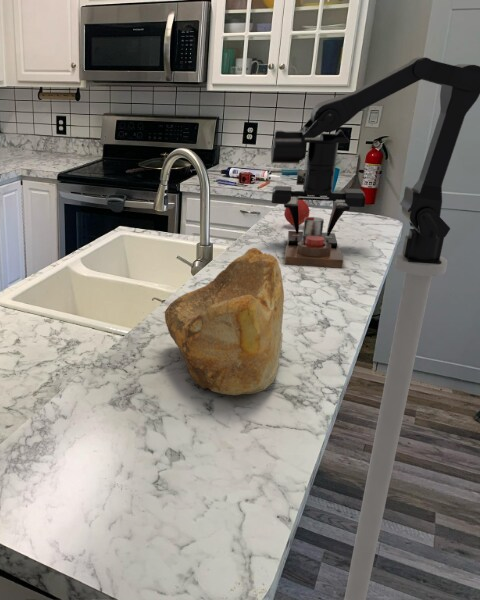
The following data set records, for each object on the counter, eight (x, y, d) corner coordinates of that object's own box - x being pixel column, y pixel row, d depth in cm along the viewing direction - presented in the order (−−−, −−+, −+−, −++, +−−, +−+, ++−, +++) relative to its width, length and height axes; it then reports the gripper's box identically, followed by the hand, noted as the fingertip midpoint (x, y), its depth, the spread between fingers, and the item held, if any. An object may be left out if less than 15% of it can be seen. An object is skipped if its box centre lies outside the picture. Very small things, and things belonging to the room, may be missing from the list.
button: (322, 244, 129) (323, 236, 128) (323, 249, 126) (324, 240, 125) (304, 242, 130) (305, 235, 129) (305, 247, 127) (306, 239, 126)
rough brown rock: (189, 325, 102) (184, 240, 96) (294, 334, 94) (295, 242, 89) (139, 397, 83) (129, 295, 77) (265, 415, 75) (264, 304, 70)
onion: (287, 230, 150) (291, 198, 147) (279, 224, 155) (283, 193, 152) (311, 229, 150) (315, 197, 147) (302, 223, 155) (306, 192, 152)
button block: (338, 255, 131) (341, 240, 130) (342, 268, 124) (344, 251, 123) (285, 252, 134) (286, 237, 133) (285, 264, 127) (286, 248, 126)
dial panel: (333, 243, 139) (334, 232, 138) (336, 254, 132) (337, 242, 131) (287, 240, 142) (288, 229, 141) (287, 251, 135) (288, 239, 134)
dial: (321, 234, 137) (323, 215, 136) (322, 239, 134) (324, 220, 132) (302, 233, 138) (304, 215, 137) (302, 238, 135) (305, 219, 133)
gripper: (364, 158, 134) (354, 227, 140) (275, 156, 140) (269, 223, 145) (370, 167, 125) (359, 241, 130) (275, 165, 130) (268, 235, 136)
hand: (312, 234), depth 136 cm, fingers open, 6 cm apart
